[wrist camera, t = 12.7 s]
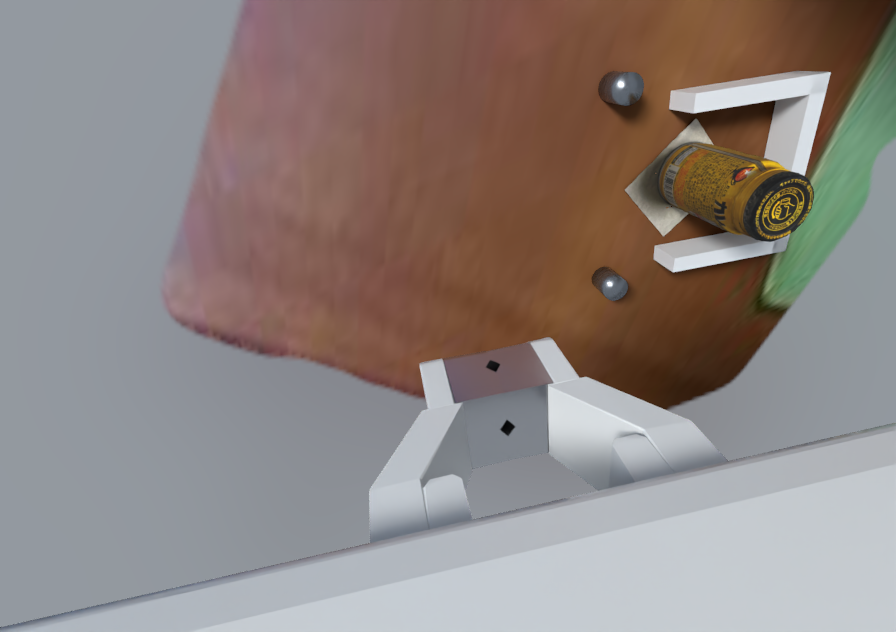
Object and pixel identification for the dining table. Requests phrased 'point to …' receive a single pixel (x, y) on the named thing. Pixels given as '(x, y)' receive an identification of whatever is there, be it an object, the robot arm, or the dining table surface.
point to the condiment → (721, 189)
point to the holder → (785, 145)
